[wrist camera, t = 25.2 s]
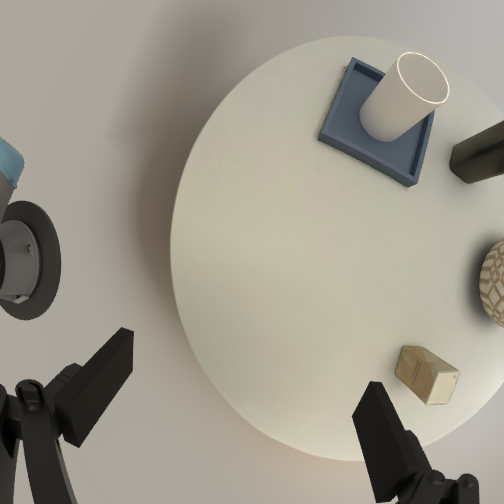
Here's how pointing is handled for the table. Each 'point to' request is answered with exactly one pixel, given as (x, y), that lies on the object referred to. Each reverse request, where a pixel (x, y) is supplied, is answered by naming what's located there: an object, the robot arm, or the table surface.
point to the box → (427, 375)
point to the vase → (493, 283)
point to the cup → (403, 97)
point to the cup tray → (360, 142)
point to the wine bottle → (480, 155)
